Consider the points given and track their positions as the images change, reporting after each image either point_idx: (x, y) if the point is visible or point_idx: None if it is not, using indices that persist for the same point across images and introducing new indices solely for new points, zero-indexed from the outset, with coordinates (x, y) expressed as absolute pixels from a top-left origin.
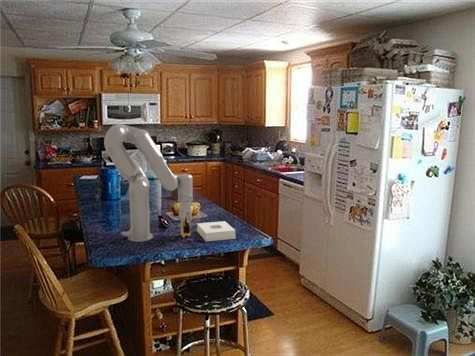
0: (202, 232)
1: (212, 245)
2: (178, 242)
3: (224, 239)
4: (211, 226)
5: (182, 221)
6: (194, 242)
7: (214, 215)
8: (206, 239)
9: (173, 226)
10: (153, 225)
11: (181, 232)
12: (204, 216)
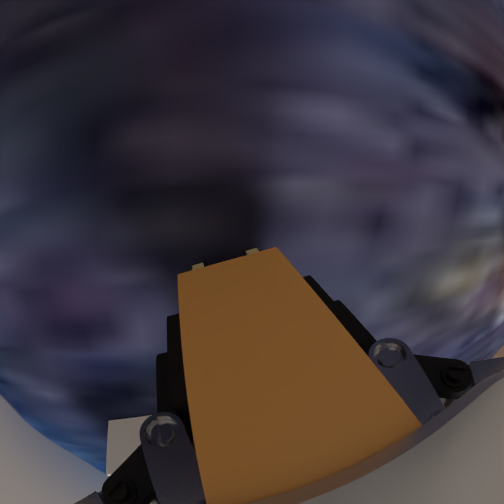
0: None
1: (58, 433)
2: (30, 230)
3: None
4: None
5: (204, 479)
6: (67, 365)
7: (487, 346)
8: (110, 435)
9: (484, 172)
10: (497, 55)
11: (241, 271)
12: (499, 317)
